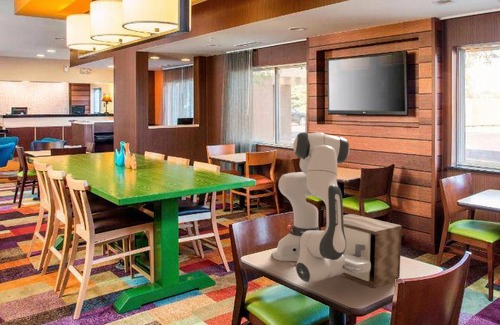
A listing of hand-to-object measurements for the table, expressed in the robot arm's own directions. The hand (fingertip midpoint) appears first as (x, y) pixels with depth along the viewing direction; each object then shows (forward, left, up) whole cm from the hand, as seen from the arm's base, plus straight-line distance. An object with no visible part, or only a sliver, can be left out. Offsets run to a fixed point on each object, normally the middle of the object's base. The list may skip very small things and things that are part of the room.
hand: (359, 256), depth 184 cm
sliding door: (-1, +4, -9) cm, 10 cm away
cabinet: (+5, +11, -11) cm, 17 cm away
